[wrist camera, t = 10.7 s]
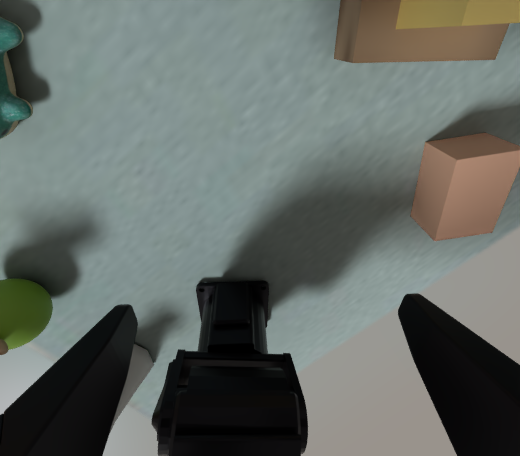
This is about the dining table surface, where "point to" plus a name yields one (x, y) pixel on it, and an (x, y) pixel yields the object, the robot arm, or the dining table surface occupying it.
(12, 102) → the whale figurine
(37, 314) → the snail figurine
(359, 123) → the dining table surface
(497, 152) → the terracotta brick
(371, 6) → the walnut block
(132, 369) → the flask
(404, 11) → the mustard brick
